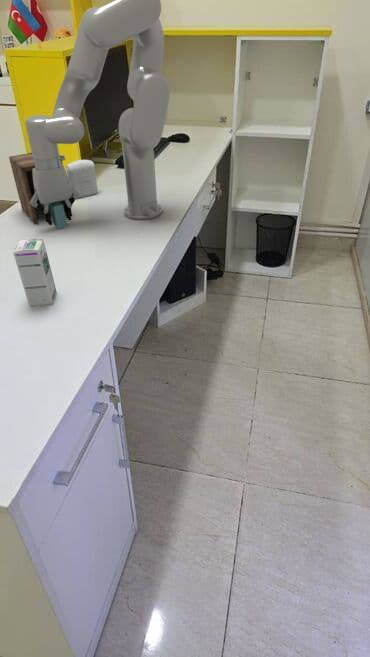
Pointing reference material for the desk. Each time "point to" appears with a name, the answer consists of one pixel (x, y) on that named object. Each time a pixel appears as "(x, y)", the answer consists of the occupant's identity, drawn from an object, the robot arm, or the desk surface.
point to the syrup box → (35, 271)
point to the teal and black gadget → (55, 214)
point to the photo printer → (82, 177)
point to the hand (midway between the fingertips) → (59, 220)
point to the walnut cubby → (25, 183)
